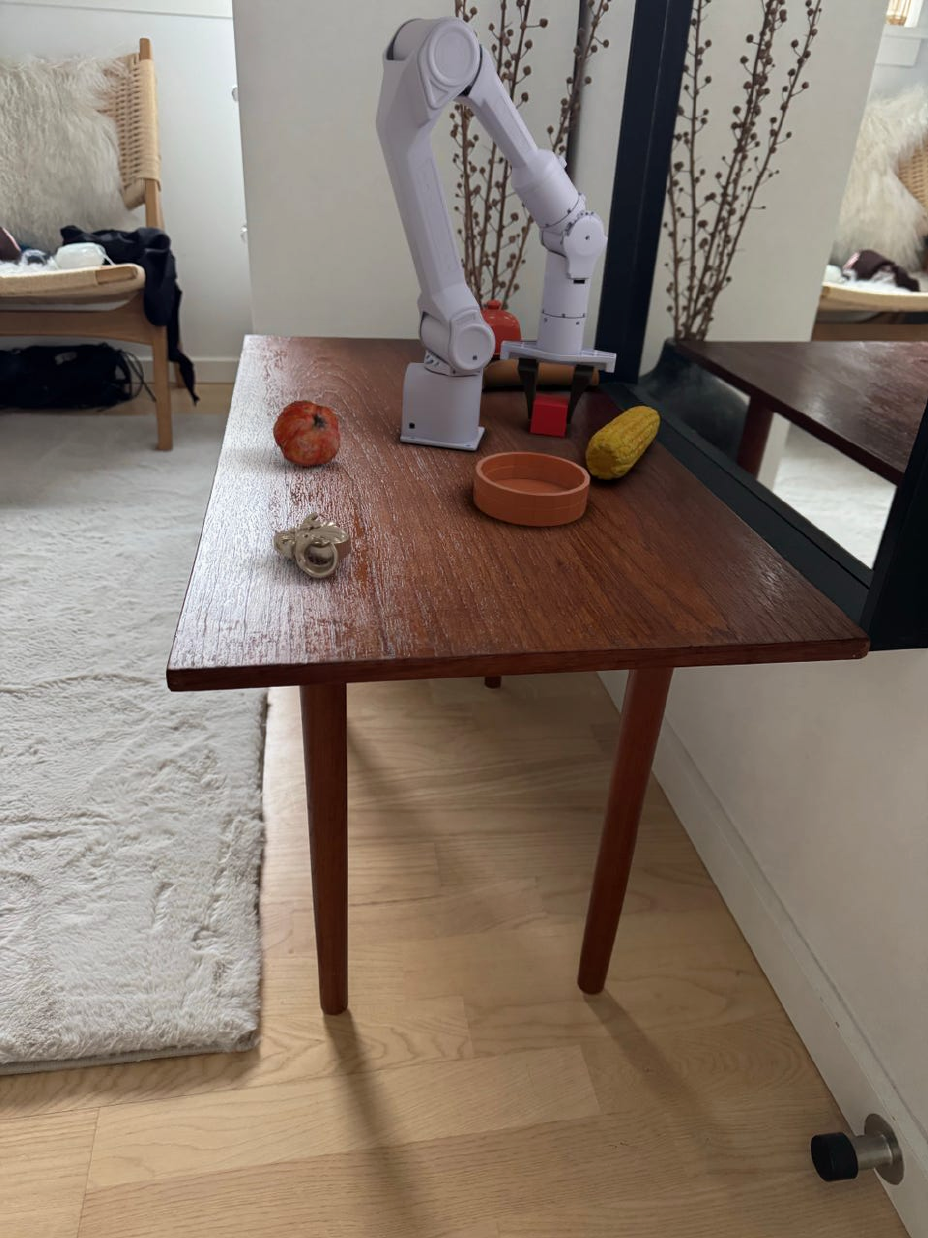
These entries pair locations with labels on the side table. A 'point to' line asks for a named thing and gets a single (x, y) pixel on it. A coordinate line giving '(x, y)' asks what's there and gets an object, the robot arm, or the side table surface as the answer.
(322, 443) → the pomegranate
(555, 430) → the red block
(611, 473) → the food
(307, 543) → the ornament
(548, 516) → the pot
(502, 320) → the butter dish
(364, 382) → the side table surface
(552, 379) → the brown rounded bar
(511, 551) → the side table surface
